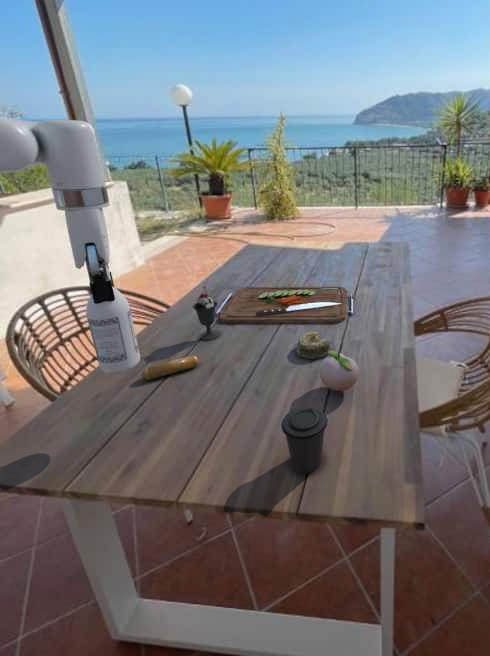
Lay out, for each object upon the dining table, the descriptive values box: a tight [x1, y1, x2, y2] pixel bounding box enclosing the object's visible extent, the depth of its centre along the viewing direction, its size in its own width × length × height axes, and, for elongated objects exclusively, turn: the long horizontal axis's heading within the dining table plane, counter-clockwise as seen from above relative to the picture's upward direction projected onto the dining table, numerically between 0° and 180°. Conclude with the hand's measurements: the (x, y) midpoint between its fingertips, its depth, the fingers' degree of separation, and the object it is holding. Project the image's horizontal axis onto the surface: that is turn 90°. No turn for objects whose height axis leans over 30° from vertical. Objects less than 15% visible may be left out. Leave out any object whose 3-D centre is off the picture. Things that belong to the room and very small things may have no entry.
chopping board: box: [215, 286, 354, 324], centre depth 134 cm, size 45×27×3 cm, turn 91°
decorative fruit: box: [318, 350, 360, 392], centre depth 89 cm, size 9×8×10 cm
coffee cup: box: [280, 405, 329, 474], centre depth 70 cm, size 8×8×10 cm
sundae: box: [192, 286, 219, 341], centre depth 111 cm, size 7×7×15 cm
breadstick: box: [140, 355, 200, 381], centre depth 96 cm, size 13×3×3 cm, turn 122°
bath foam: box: [85, 267, 141, 374], centre depth 73 cm, size 7×7×20 cm
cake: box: [296, 331, 333, 360], centre depth 106 cm, size 10×10×5 cm
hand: (105, 296), depth 72 cm, fingers closed on bath foam, 3 cm apart
